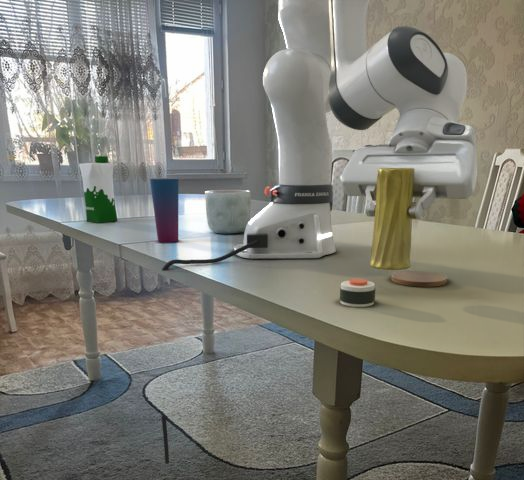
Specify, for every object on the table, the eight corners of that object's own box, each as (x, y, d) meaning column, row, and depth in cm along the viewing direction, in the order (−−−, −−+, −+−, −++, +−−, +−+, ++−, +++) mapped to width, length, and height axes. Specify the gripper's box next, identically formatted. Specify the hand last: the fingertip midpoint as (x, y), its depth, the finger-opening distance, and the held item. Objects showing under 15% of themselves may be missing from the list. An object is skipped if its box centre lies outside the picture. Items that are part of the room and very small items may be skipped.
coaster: (405, 288, 87) (405, 283, 87) (383, 276, 95) (383, 272, 95) (456, 285, 88) (457, 280, 88) (430, 274, 97) (431, 269, 96)
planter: (219, 228, 158) (217, 189, 154) (258, 230, 153) (257, 190, 150) (198, 234, 147) (196, 192, 143) (239, 236, 143) (238, 193, 139)
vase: (365, 263, 86) (369, 168, 81) (402, 262, 86) (409, 167, 81) (376, 271, 80) (382, 169, 75) (416, 269, 81) (424, 168, 76)
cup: (187, 240, 136) (184, 178, 131) (169, 244, 131) (165, 179, 126) (167, 238, 140) (163, 177, 135) (148, 242, 134) (143, 178, 129)
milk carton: (121, 220, 178) (115, 156, 171) (97, 223, 171) (90, 156, 164) (105, 219, 183) (99, 156, 176) (82, 221, 176) (74, 156, 170)
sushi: (346, 308, 76) (347, 285, 75) (335, 299, 80) (335, 277, 79) (379, 306, 77) (381, 283, 76) (366, 297, 81) (368, 276, 80)
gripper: (351, 131, 87) (322, 198, 83) (484, 126, 77) (459, 202, 72) (361, 160, 92) (334, 225, 88) (487, 159, 82) (464, 232, 77)
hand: (392, 215), depth 80 cm, fingers closed on vase, 5 cm apart
